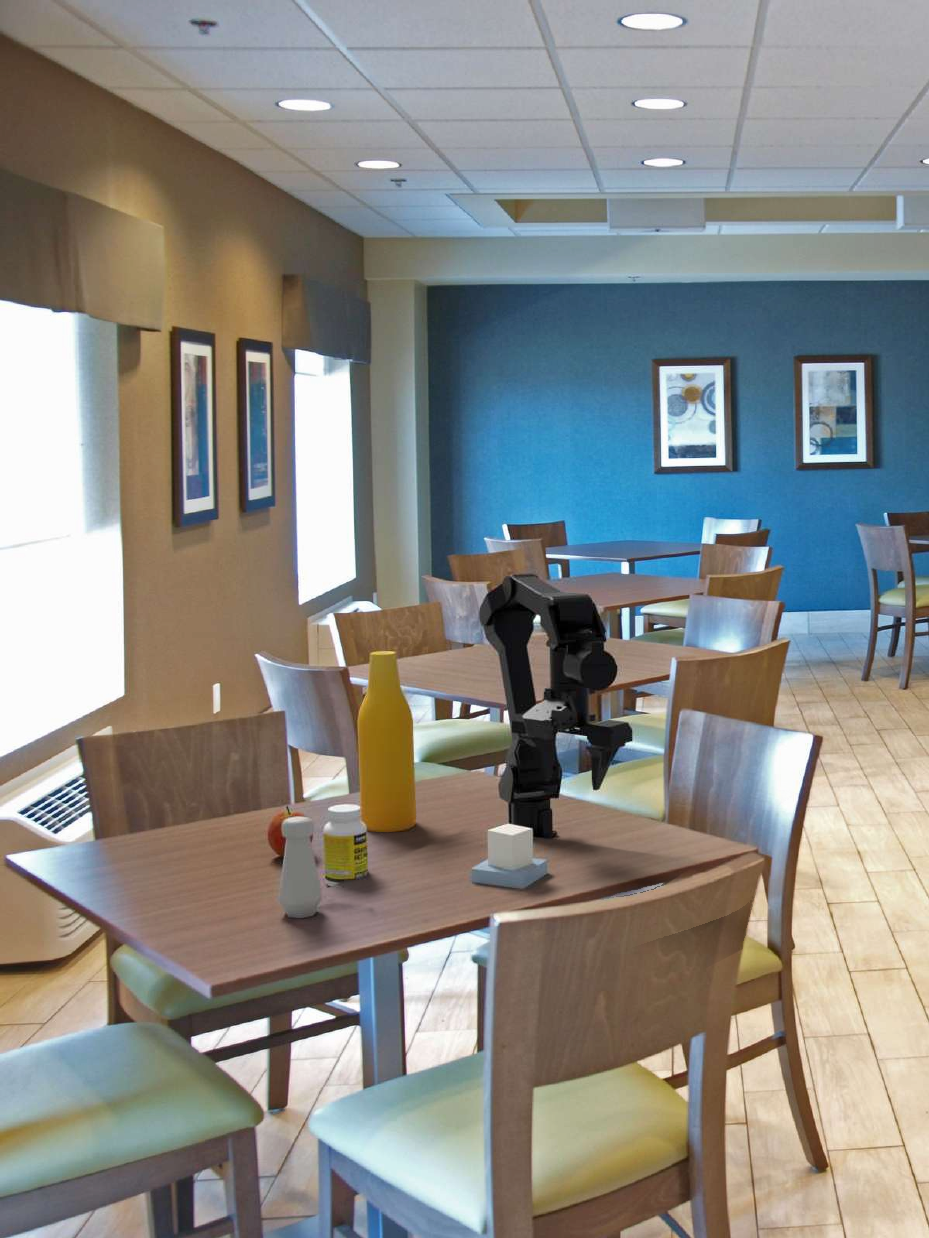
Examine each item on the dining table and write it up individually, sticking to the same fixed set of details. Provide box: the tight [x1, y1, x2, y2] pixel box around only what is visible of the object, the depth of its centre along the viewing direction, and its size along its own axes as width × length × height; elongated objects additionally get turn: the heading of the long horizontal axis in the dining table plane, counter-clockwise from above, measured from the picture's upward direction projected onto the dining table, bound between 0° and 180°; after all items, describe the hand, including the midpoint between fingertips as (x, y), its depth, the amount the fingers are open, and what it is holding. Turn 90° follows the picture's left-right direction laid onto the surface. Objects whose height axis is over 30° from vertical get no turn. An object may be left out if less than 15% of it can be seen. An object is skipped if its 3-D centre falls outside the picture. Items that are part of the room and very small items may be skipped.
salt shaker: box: [278, 816, 323, 919], centre depth 184 cm, size 6×6×13 cm
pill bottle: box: [323, 803, 369, 887], centre depth 197 cm, size 6×6×11 cm
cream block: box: [486, 823, 534, 871], centre depth 193 cm, size 4×4×5 cm
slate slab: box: [470, 857, 549, 890], centre depth 193 cm, size 8×8×2 cm
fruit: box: [267, 805, 314, 858], centre depth 211 cm, size 7×7×8 cm
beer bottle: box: [357, 650, 417, 833], centre depth 227 cm, size 9×9×29 cm
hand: (571, 785), depth 202 cm, fingers open, 9 cm apart
